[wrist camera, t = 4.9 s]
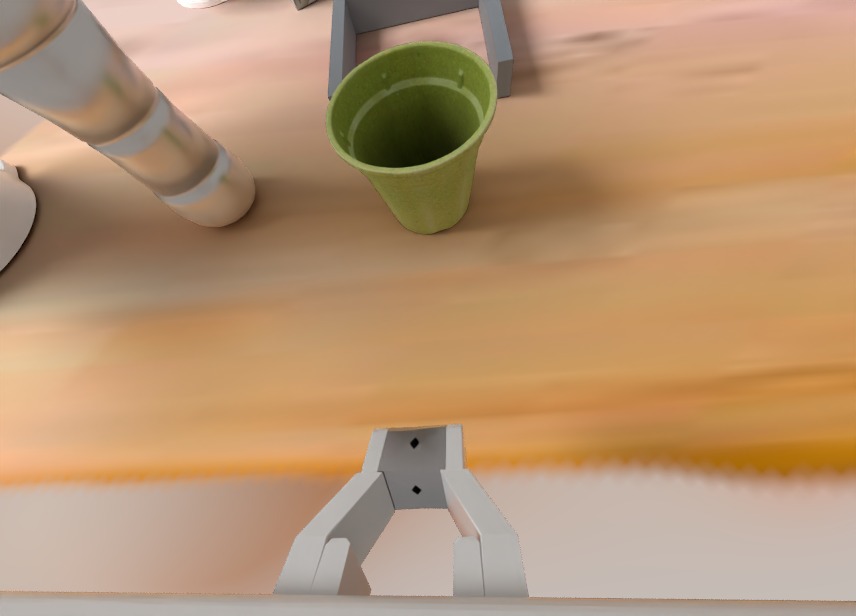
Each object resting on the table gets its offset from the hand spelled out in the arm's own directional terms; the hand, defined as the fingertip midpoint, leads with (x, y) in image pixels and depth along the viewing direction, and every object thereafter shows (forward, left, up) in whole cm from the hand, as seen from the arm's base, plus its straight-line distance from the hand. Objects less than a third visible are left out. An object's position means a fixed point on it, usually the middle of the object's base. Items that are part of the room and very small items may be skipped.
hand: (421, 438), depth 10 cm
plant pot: (0, +17, -10) cm, 19 cm away
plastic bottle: (-18, +20, -10) cm, 28 cm away
